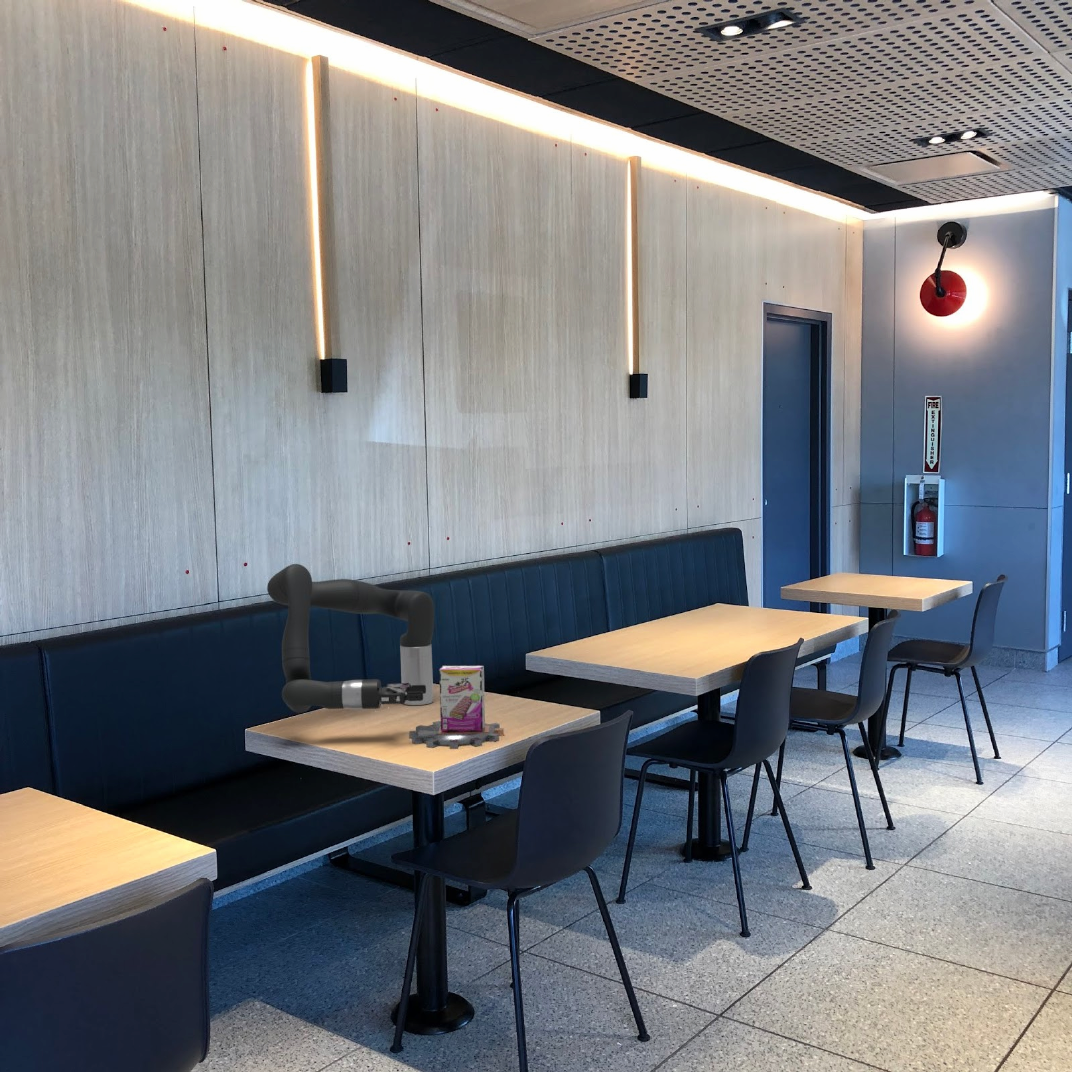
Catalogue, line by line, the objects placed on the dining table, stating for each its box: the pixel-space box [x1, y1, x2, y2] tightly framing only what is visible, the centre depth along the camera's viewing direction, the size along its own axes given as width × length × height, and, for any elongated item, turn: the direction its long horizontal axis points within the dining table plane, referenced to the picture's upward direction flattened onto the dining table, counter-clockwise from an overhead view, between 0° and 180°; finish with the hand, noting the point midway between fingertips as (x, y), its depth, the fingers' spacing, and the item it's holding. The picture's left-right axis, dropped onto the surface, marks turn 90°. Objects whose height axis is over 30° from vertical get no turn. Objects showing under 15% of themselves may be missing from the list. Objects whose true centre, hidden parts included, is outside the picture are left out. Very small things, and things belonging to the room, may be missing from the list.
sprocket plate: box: [408, 720, 505, 749], centre depth 289 cm, size 24×24×2 cm
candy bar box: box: [439, 665, 486, 731], centre depth 288 cm, size 11×5×16 cm, turn 86°
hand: (424, 692), depth 288 cm, fingers open, 8 cm apart
